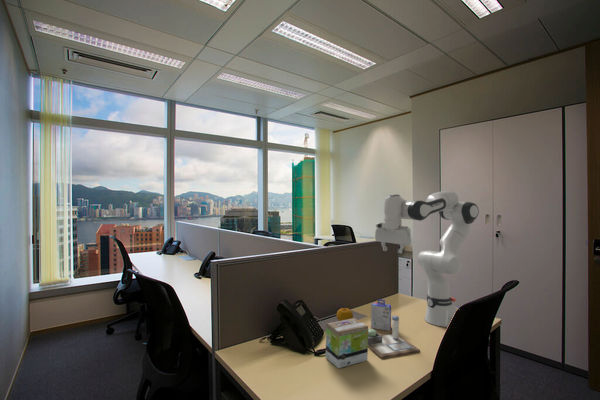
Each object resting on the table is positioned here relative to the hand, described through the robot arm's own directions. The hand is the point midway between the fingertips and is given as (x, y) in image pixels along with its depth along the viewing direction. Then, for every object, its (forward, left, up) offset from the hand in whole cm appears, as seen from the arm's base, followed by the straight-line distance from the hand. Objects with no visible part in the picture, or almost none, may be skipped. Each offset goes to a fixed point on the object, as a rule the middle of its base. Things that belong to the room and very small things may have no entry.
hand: (392, 251), depth 150 cm
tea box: (+35, +18, -41) cm, 57 cm away
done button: (+17, +8, -38) cm, 43 cm away
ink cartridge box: (+3, -5, -41) cm, 41 cm away
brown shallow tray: (+11, +13, -41) cm, 44 cm away
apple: (+20, -14, -41) cm, 48 cm away
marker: (+5, +10, -40) cm, 41 cm away
